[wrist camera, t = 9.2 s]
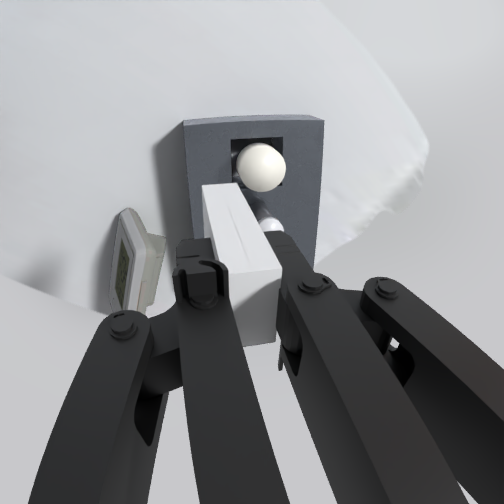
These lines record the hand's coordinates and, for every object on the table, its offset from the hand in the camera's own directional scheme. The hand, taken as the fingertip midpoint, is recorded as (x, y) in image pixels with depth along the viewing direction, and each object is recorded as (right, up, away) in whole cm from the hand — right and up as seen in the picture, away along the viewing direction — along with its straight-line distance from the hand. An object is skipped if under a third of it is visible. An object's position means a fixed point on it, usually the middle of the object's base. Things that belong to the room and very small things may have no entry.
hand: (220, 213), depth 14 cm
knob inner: (+1, +11, +25) cm, 27 cm away
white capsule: (+2, +3, +25) cm, 25 cm away
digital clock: (-16, -2, +30) cm, 34 cm away
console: (+1, +6, +29) cm, 29 cm away
